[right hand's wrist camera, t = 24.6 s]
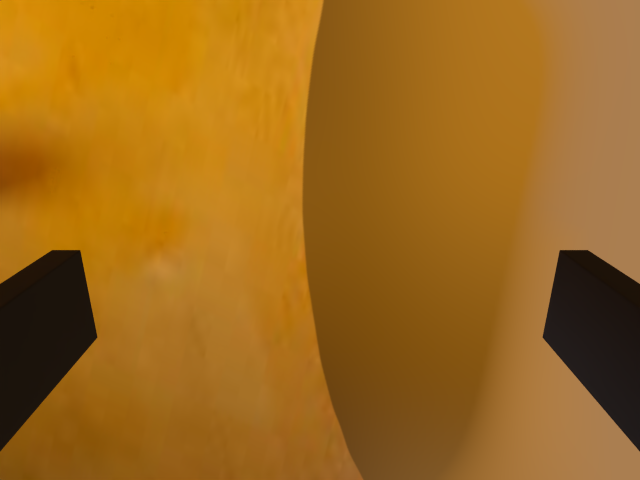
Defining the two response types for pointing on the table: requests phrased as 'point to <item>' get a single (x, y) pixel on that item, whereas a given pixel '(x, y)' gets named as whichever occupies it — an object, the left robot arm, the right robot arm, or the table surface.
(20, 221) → the table surface
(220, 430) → the table surface
